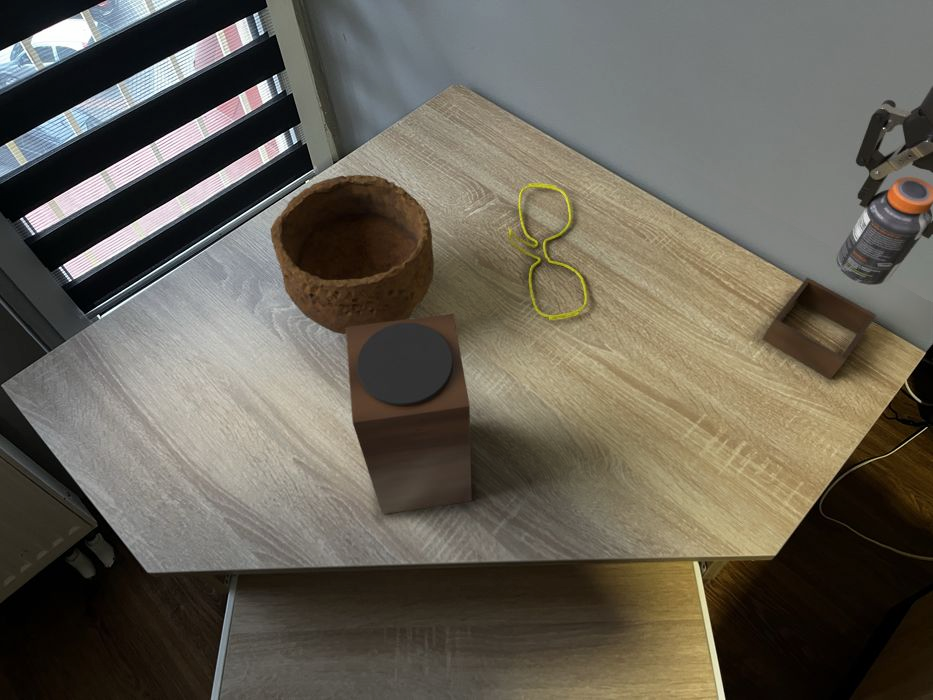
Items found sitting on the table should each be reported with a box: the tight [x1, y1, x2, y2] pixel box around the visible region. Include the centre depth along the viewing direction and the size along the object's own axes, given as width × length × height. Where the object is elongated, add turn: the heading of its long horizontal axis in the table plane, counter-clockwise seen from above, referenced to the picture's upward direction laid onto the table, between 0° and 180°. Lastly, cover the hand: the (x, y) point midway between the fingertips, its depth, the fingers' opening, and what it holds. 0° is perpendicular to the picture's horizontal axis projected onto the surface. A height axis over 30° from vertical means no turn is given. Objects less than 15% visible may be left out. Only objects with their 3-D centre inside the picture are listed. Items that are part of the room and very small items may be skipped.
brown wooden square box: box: [762, 277, 877, 380], centre depth 88 cm, size 9×9×4 cm
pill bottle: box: [836, 176, 933, 286], centre depth 73 cm, size 6×6×11 cm
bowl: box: [270, 174, 435, 335], centre depth 87 cm, size 19×19×15 cm
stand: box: [345, 312, 473, 515], centre depth 71 cm, size 10×10×22 cm
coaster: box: [357, 323, 453, 406], centre depth 61 cm, size 8×8×1 cm
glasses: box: [507, 182, 588, 321], centre depth 96 cm, size 25×10×5 cm, turn 3°
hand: (896, 217), depth 71 cm, fingers closed on pill bottle, 6 cm apart
